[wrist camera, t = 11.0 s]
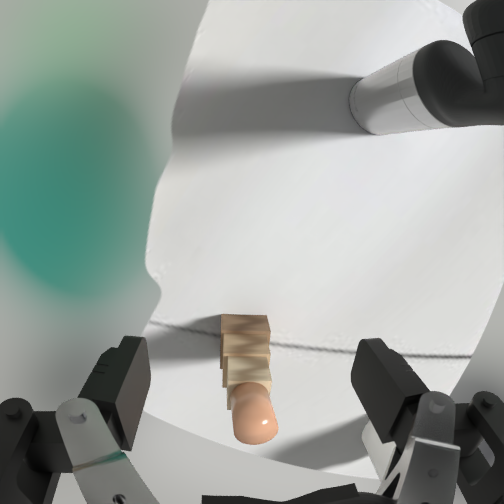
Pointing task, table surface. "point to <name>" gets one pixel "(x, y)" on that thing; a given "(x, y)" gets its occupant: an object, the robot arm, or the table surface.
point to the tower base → (243, 327)
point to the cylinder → (252, 414)
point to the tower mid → (243, 348)
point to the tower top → (247, 373)
